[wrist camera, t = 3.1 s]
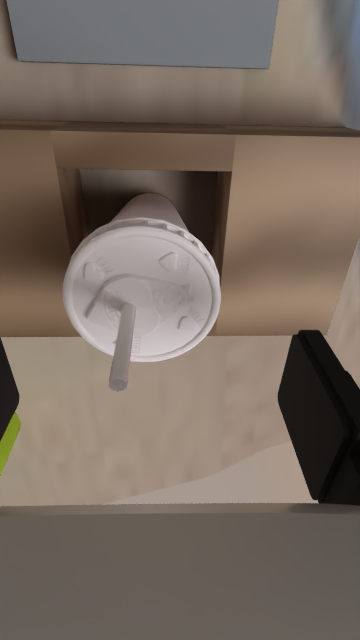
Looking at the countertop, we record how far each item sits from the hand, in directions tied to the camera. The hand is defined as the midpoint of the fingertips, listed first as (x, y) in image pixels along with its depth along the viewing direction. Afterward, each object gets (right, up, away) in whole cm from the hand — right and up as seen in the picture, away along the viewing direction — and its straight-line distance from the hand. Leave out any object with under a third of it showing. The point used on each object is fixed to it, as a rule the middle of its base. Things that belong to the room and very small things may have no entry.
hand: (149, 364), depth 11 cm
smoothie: (-1, +8, +11) cm, 13 cm away
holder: (-1, +8, +10) cm, 13 cm away
